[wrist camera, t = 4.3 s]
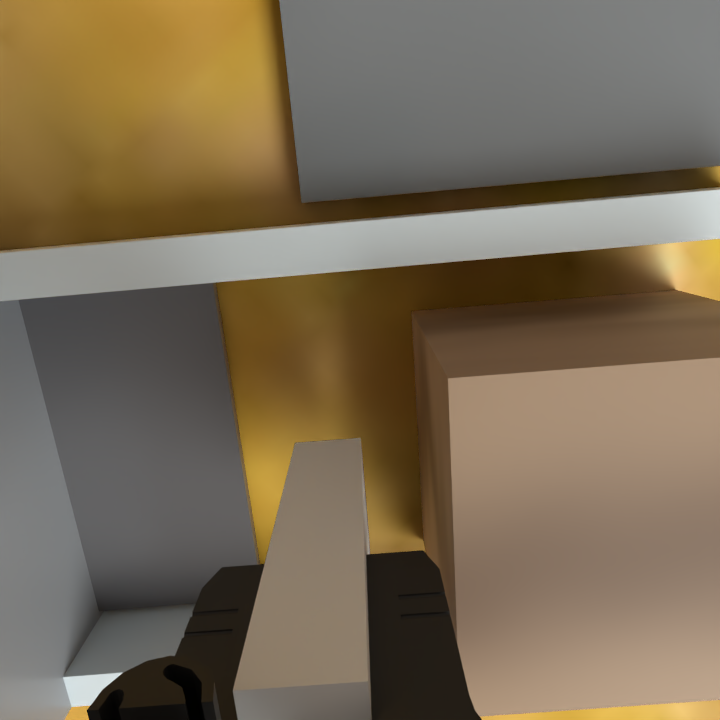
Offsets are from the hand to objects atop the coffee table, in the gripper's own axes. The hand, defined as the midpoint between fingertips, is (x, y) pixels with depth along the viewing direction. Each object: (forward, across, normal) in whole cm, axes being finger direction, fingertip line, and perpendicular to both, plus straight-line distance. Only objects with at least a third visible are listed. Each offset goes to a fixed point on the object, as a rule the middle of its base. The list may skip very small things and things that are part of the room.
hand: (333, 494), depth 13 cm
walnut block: (+3, +6, 0) cm, 7 cm away
